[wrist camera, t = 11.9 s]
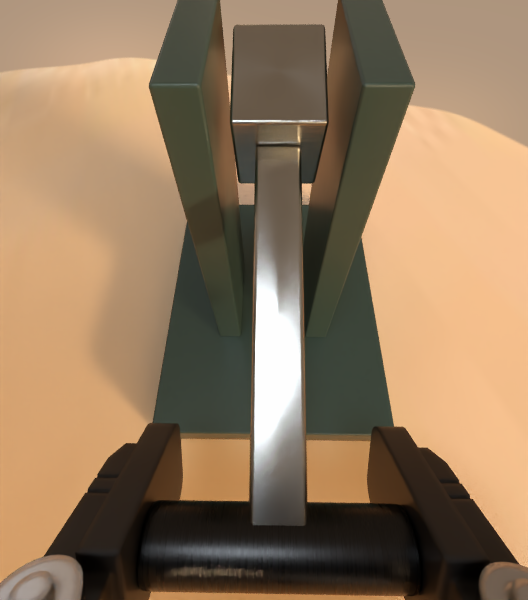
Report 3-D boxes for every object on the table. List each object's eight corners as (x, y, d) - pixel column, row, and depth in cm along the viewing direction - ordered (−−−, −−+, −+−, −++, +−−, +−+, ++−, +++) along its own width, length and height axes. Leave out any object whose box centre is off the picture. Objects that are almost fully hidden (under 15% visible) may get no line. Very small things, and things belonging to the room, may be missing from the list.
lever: (387, 558, 8) (441, 637, 5) (164, 554, 8) (119, 630, 5) (358, 103, 10) (384, 22, 8) (195, 103, 10) (174, 23, 8)
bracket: (385, 441, 15) (707, 279, 4) (160, 438, 15) (-122, 274, 4) (350, 222, 22) (437, -66, 11) (194, 221, 22) (119, -64, 11)
